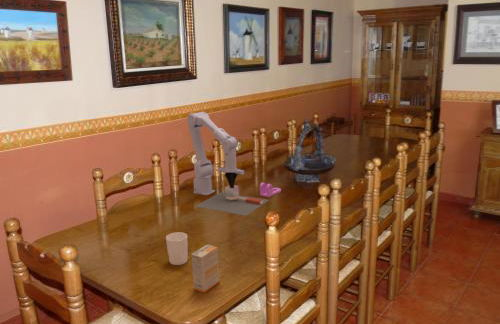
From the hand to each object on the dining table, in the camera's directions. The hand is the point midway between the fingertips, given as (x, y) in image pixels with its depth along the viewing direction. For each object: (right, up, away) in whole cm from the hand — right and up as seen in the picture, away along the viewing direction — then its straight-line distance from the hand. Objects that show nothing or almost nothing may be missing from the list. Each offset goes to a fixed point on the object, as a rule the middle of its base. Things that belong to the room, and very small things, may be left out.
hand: (231, 186), depth 232 cm
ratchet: (+6, -7, -2) cm, 10 cm away
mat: (0, -9, -4) cm, 9 cm away
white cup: (-17, -25, -63) cm, 70 cm away
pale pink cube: (0, -5, +1) cm, 5 cm away
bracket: (+21, -5, +10) cm, 24 cm away
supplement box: (-5, -29, -81) cm, 86 cm away
